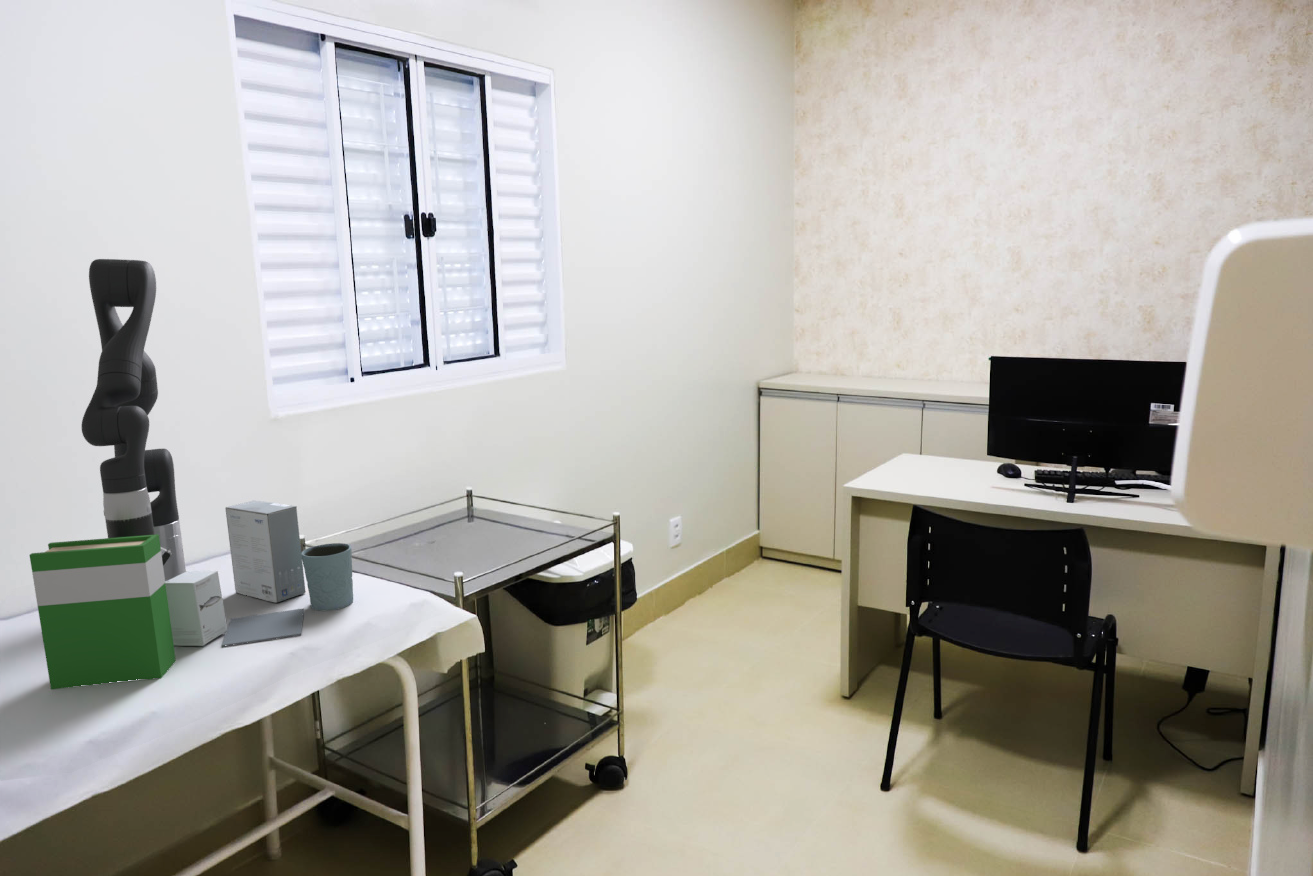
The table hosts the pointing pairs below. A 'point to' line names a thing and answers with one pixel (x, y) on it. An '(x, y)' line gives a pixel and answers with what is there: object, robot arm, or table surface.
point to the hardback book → (103, 610)
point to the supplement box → (195, 608)
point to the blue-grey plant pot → (329, 575)
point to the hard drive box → (265, 550)
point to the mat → (264, 627)
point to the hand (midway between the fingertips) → (140, 602)
